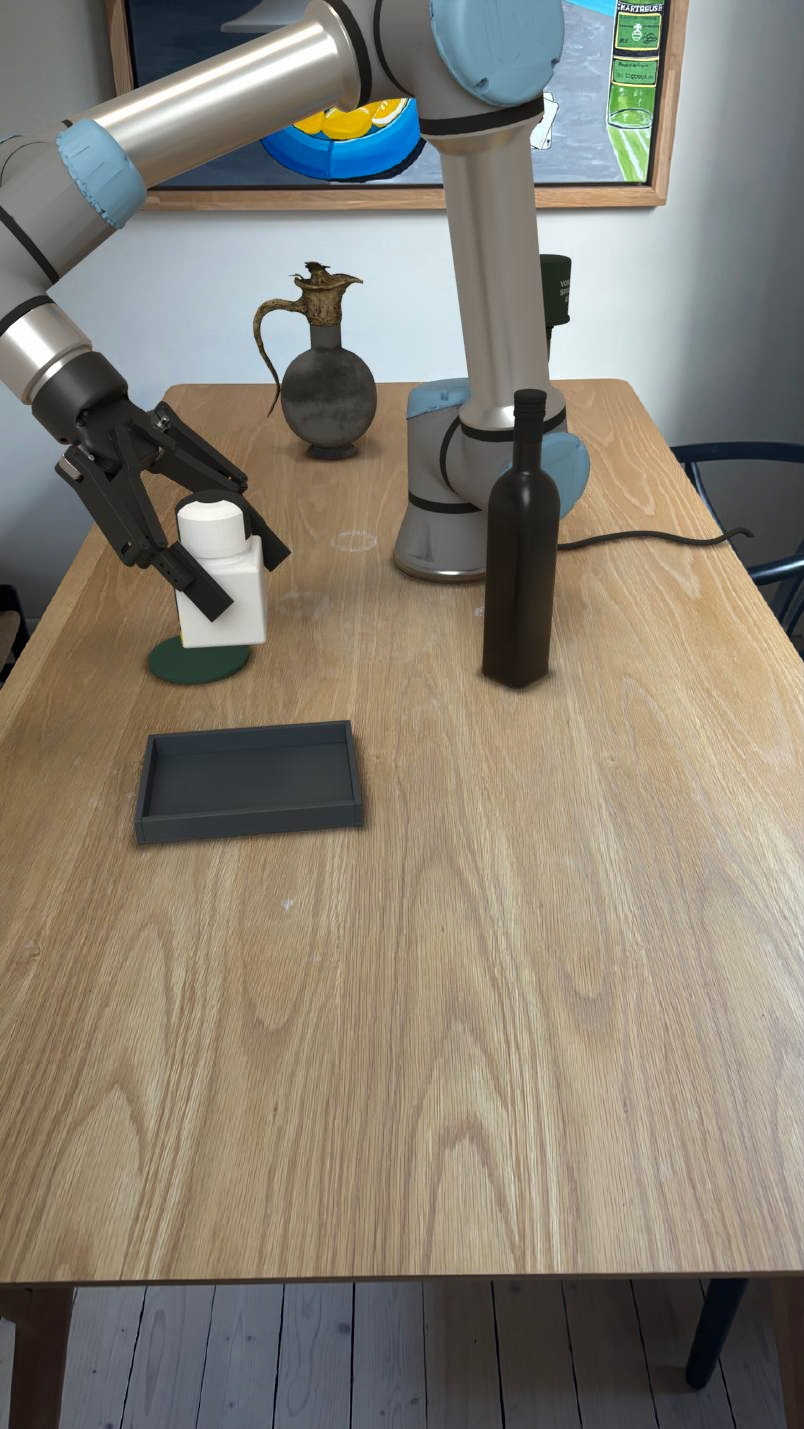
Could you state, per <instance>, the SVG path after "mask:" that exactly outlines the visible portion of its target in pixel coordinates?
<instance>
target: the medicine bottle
mask: <svg viewBox="0 0 804 1429" xmlns="http://www.w3.org/2000/svg"><path fill="white" fill-rule="evenodd" d="M243 496H244V495H243ZM243 496H242V495H240V494H238V493H235V492H231V491H227V490H204V491H199V492H196V493H193V492H192V493H190V494H189V495H186V496H183V498H180V500H178V502H177V503H176V505H175V506H174V516H175V523H176V530H177V531H176V532H177V537H178V538H177V539H178V541H179V542H180V543H181V544H182V545H183V547H184V548H185V549H186V550H187V551H188V552H189V553H190V554H191V555H192V556H193V557H194V558H195V559H196V561H197V562H198V563H199V564H200V565H201V566H202V567H203V568H204V569H205V570H206V571H207V572H208V573H209V575H210V576H211V577H212V578H213V579H214V580H215V581H216V582H217V583H218V584H219V585H220V586H221V587H222V589H223V590H224V591H225V592H226V593H227V594H228V595H229V596H230V597H231V598H232V599H233V600H234V603H233V604H231V605H230V606H229V607H228V608H227V609H226V610H225V611H224V612H223V613H222V614H221V615H220V616H219V617H218V618H217V619H216V620H215V621H213V622H212V623H211V622H210V620H209V619H208V618H207V617H206V616H205V615H204V614H203V613H202V612H201V611H200V610H199V609H198V608H197V607H196V605H195V604H194V603H193V602H192V601H191V600H190V599H189V598H188V597H187V596H186V595H185V594H184V593H183V592H179V591H178V590H176V589H175V588H174V587H173V586H172V589H173V594H174V601H175V607H176V614H177V621H178V628H179V633H180V634H179V635H181V641H182V646H183V647H184V648H201V647H218V646H235V645H247V646H249V645H250V646H251V645H252V646H253V645H264V644H265V643H267V636H268V635H267V634H268V608H269V605H268V594H267V593H268V592H267V584H266V583H267V582H266V573H265V566H264V562H263V551H262V541H261V537H260V536H252V531H251V522H250V512H249V503H250V502H249V500H247V499H246V497H245V496H244V497H243ZM248 502H249V503H248Z"/></svg>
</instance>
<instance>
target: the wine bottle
mask: <svg viewBox="0 0 804 1429" xmlns="http://www.w3.org/2000/svg"><path fill="white" fill-rule="evenodd" d="M546 399H547V393H546V392H545V391H543V390H539V389H521V390H517V391H516V392H515V393H514V410H513V416H514V436H513V440H514V441H513V459H512V467H511V468H510V469H509V470H507V471H506V472H505V473H504V474H503V475H502V476H501V477H499V478H498V479H497V481H496V483H495V484H494V486H493V487H492V490H491V493H490V496H489V501H488V518H487V546H486V573H485V579H484V602H483V604H484V605H483V633H482V658H481V672H482V674H484V675H485V676H486V677H488V678H490V679H492V680H494V681H497V682H498V683H501V684H503V685H505V686H507V687H509V688H512V689H515V690H519V689H522V688H526V687H527V686H528V685H531V684H532V683H534V682H536V681H537V680H539V679H540V678H542V677H545V675H547V674H548V672H549V664H550V650H551V636H552V626H553V625H552V623H553V610H554V598H555V597H554V596H555V585H556V571H557V560H558V559H557V557H558V550H557V547H558V544H559V533H560V521H561V520H560V508H561V503H560V496H559V492H558V487H557V485H556V484H555V482H554V480H553V479H552V478H551V477H550V476H549V474H548V473H546V472H545V471H544V470H543V469H542V468H541V453H542V439H543V422H544V417H545V415H546V410H545V409H546V406H545V405H546Z"/></svg>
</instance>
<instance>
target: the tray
mask: <svg viewBox="0 0 804 1429" xmlns="http://www.w3.org/2000/svg"><path fill="white" fill-rule="evenodd" d="M355 750H356V749H355V743H354V736H353V727H352V721H351V719H341V720H340V719H339V720H327V721H313V722H312V721H311V722H300V723H286V724H273V725H272V724H271V725H259V726H245V727H230V728H219V729H205V730H204V729H203V730H193V731H177V732H176V731H175V732H165V733H162V732H161V733H151V734H150V733H149V734H147V741H146V746H145V753H144V758H143V764H142V771H141V776H140V782H139V789H138V794H137V795H138V796H137V800H136V801H137V802H136V807H135V814H134V818H133V823H134V829H135V834H136V839H137V845H149V844H163V843H173V842H187V841H197V840H199V841H200V840H210V839H221V838H233V837H234V838H235V837H245V836H246V837H247V836H256V835H259V836H260V835H269V834H281V833H282V834H283V833H295V832H306V831H317V830H318V831H319V830H329V829H340V828H343V829H344V828H354V827H363V826H364V823H363V820H364V819H363V818H364V817H363V801H362V794H361V787H360V780H359V774H358V773H359V770H358V764H357V757H356V751H355Z"/></svg>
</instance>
